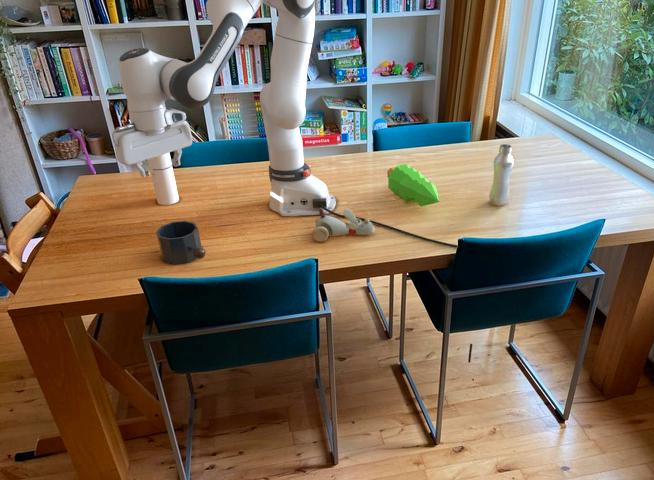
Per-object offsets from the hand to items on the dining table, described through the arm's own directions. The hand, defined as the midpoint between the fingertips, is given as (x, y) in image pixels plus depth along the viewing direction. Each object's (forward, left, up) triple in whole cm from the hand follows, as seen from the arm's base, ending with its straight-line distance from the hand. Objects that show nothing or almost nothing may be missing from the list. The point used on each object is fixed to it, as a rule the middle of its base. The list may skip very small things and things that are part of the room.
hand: (161, 170), depth 145 cm
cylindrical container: (+18, -35, -26) cm, 47 cm away
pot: (+3, -3, -21) cm, 22 cm away
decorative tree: (-66, -40, -26) cm, 82 cm away
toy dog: (-45, -15, -26) cm, 54 cm away
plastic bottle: (-95, -41, -26) cm, 107 cm away
